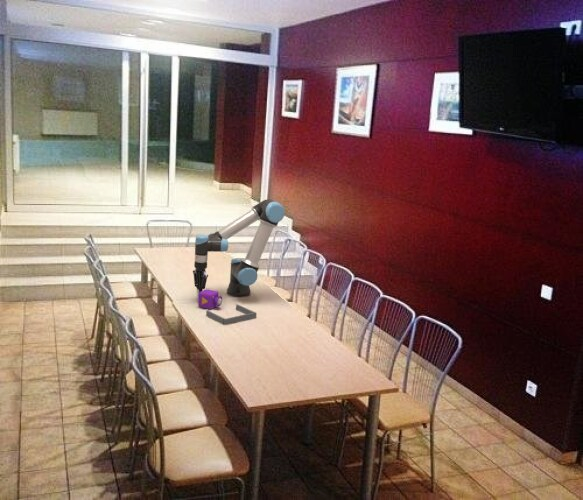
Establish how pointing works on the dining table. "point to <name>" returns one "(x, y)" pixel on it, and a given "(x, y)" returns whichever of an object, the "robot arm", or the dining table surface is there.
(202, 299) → the toy camera
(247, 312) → the gray bracket frame
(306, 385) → the dining table surface
